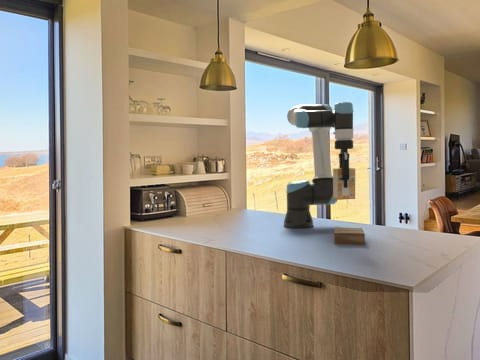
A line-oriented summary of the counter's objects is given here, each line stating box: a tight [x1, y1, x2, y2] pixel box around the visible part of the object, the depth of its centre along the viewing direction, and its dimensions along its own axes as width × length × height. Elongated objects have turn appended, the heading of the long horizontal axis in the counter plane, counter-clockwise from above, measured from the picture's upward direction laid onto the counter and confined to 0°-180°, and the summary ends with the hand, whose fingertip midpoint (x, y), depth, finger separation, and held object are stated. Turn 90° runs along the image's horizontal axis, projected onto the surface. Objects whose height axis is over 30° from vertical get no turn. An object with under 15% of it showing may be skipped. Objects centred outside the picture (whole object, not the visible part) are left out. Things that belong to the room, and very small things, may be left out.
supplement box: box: [332, 167, 356, 201], centre depth 171 cm, size 8×5×13 cm, turn 99°
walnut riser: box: [333, 227, 366, 246], centre depth 173 cm, size 12×12×5 cm
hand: (344, 194), depth 171 cm, fingers closed on supplement box, 6 cm apart
